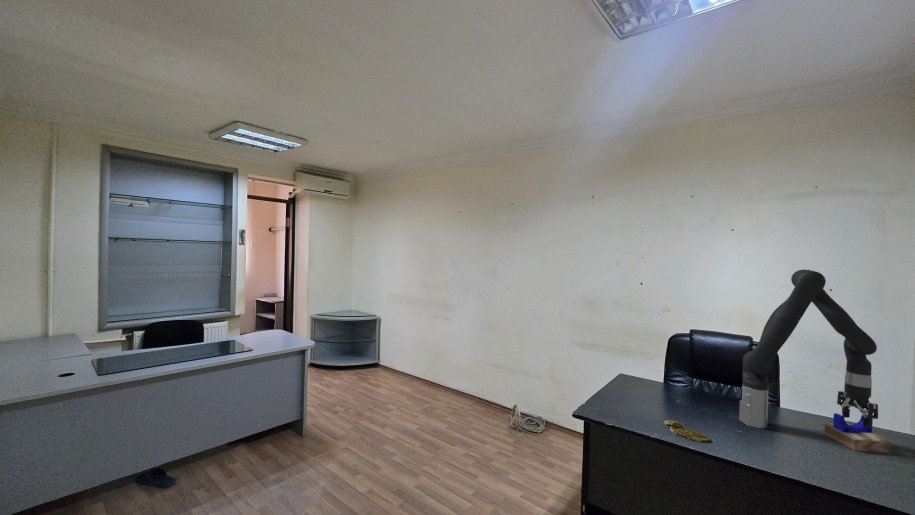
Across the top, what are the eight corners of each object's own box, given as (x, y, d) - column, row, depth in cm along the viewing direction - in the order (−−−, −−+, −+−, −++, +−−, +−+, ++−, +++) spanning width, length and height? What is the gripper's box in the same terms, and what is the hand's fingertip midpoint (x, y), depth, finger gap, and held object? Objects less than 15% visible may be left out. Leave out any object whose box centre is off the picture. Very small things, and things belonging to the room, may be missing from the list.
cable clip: (843, 432, 149) (843, 418, 149) (833, 427, 154) (833, 413, 154) (875, 434, 148) (876, 420, 148) (864, 429, 152) (865, 415, 152)
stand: (854, 450, 145) (854, 438, 144) (824, 434, 157) (824, 423, 157) (889, 452, 143) (890, 440, 143) (856, 436, 156) (857, 424, 156)
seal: (711, 440, 153) (671, 428, 162) (712, 429, 153) (672, 417, 163) (710, 447, 146) (667, 434, 155) (710, 435, 146) (668, 422, 155)
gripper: (886, 390, 143) (884, 430, 143) (850, 378, 157) (848, 414, 157) (866, 389, 143) (863, 429, 144) (831, 377, 157) (830, 413, 158)
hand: (855, 421), depth 150 cm, fingers open, 8 cm apart
